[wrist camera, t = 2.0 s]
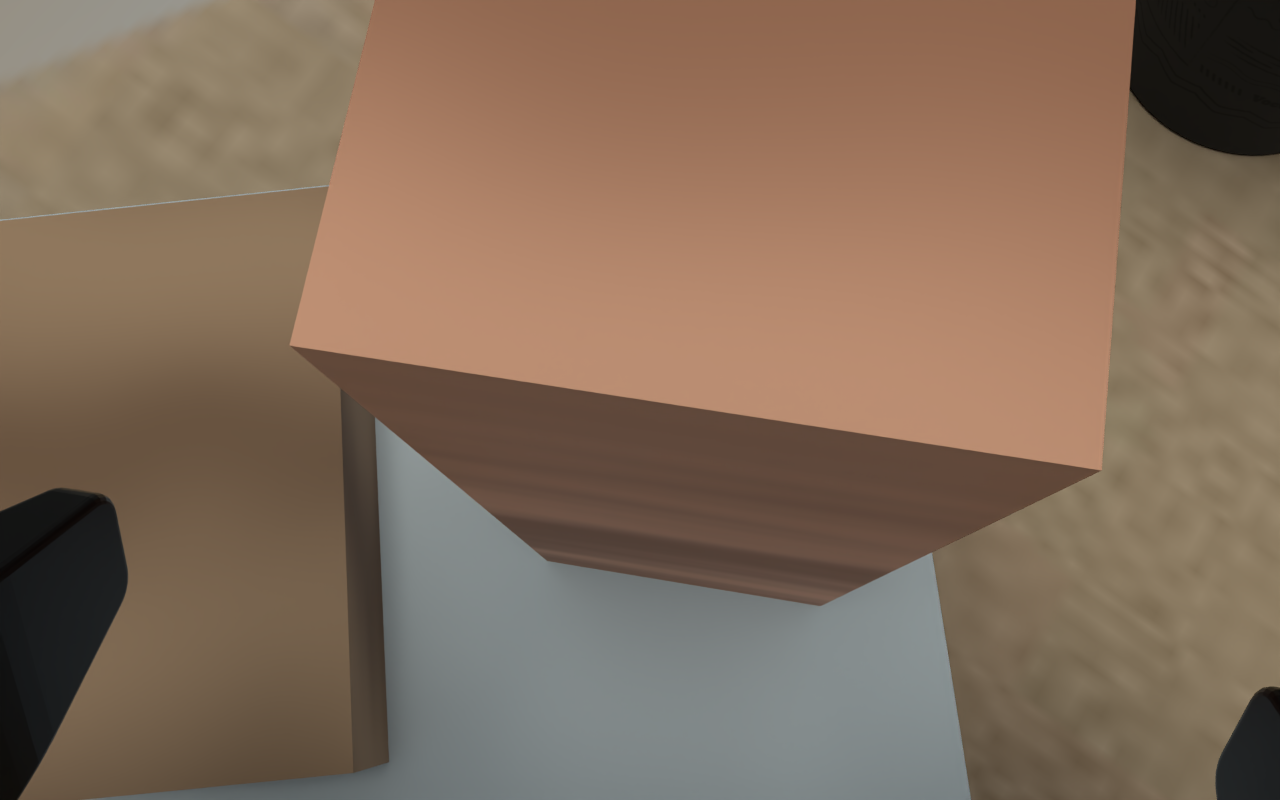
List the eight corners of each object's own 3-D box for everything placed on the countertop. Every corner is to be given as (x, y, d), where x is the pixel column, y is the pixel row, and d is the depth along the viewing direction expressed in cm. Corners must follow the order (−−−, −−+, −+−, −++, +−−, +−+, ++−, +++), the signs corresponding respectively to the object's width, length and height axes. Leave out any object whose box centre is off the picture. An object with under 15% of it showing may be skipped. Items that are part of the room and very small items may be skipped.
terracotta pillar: (821, 606, 18) (1100, 469, 6) (547, 561, 18) (290, 344, 6) (854, 341, 19) (1153, -231, 7) (594, 303, 19) (451, -307, 7)
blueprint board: (971, 897, 18) (988, 911, 17) (-140, 1005, 18) (-186, 1024, 17) (856, 153, 21) (864, 128, 20) (-93, 253, 21) (-129, 233, 20)
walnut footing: (388, 761, 18) (353, 772, 16) (-172, 817, 18) (-275, 834, 16) (367, 233, 20) (332, 185, 18) (-134, 285, 20) (-221, 243, 18)
